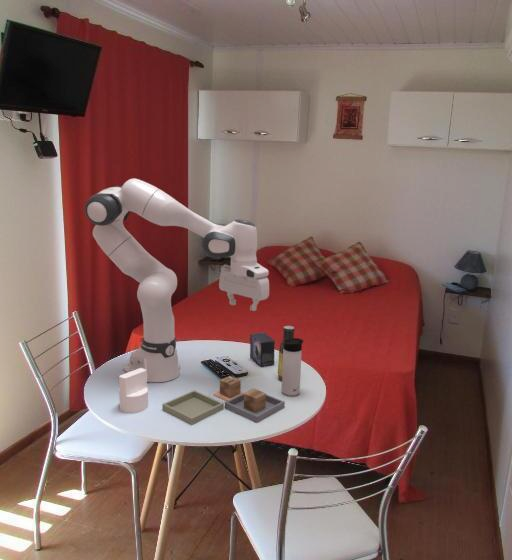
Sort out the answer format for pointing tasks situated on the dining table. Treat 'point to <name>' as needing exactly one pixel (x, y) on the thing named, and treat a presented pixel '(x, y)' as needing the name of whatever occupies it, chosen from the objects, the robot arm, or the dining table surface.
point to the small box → (262, 349)
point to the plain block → (254, 400)
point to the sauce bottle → (287, 335)
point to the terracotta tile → (225, 396)
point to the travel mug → (291, 367)
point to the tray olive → (193, 407)
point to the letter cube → (230, 386)
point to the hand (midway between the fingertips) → (242, 307)
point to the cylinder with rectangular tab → (133, 391)
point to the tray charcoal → (238, 408)
